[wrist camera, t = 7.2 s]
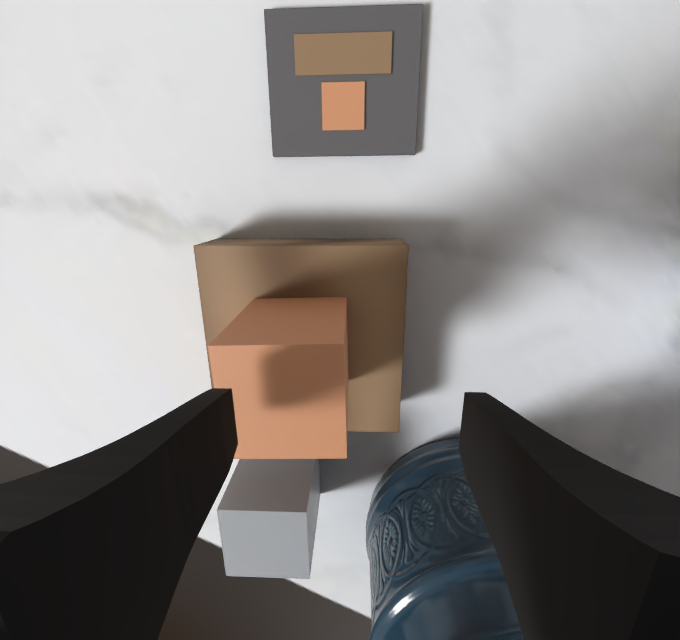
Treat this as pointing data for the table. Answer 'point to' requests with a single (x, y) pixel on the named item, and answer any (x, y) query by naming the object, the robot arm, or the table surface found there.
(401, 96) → the card
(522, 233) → the table surface
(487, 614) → the canister
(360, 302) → the walnut base
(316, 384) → the rust block
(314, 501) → the grey block
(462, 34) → the table surface
